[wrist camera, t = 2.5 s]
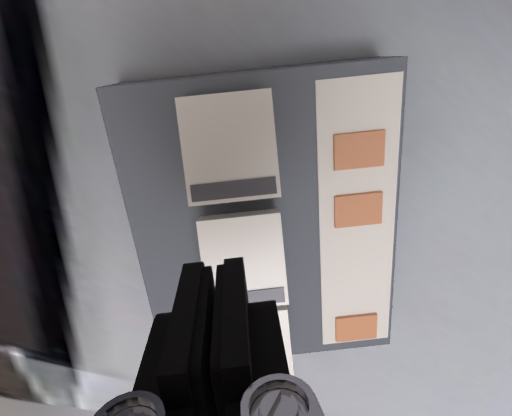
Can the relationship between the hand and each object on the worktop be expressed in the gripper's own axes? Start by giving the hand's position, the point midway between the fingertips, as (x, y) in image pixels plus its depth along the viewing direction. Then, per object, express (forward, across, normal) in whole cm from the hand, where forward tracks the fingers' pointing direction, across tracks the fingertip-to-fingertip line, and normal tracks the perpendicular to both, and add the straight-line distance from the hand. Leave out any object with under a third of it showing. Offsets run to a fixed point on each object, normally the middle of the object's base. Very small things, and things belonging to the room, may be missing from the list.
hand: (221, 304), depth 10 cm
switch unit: (+15, -2, +4) cm, 16 cm away
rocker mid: (+9, 0, +4) cm, 10 cm away
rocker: (+9, 0, -2) cm, 9 cm away
